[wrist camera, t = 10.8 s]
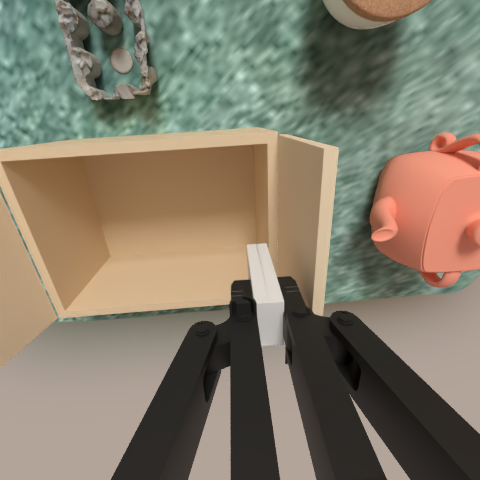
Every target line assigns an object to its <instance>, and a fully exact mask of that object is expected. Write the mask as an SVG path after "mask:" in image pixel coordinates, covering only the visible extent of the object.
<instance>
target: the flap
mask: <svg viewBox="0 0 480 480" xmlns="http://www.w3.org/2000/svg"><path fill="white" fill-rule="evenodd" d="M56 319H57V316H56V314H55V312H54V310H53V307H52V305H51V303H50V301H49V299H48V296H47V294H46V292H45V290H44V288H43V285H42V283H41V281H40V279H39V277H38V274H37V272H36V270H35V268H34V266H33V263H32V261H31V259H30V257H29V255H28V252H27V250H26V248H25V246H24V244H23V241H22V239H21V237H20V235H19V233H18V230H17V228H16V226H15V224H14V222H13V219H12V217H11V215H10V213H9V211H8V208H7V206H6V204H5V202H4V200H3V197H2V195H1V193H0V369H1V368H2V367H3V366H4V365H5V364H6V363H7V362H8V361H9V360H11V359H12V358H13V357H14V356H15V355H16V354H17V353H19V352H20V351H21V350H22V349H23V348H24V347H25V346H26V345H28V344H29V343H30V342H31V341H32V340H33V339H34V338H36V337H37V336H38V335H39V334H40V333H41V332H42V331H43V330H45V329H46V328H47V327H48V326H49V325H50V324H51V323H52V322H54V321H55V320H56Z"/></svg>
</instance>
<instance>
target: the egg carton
mask: <svg viewBox="0 0 480 480" xmlns="http://www.w3.org/2000/svg"><path fill="white" fill-rule="evenodd" d="M55 4H56V10H57V12H58V14H59V25H60V28H61V30H62V33H63V36H64V39H65V43H66V47H67V50H68V52H69V55H70V59H71V64H72V68H73V72H74V76H75V79H76V81H77V83H78V84H79V86H80V87H81V88H82V89H83V90H84V91H85V93H86V94H87V95H88V96H89V97H90V98H91V99H92V100H100V99H102V98H103V99H111V100H115V99H121V98H122V99H134V98H135V97H134V95H137V94H139V95H150V94H151V90H152V89H151V87H152V85H153V83H154V82H156V81H157V74H156V71H155V68H152V67H150V66H147V57H146V53H148V49H147V44H148V43H149V39H148V37H147V34H146V30H145V26H144V17H143V13H142V9H141V5H140V0H126V2H125V7H124V12H125V14H126V15H127V16H128V17H129V18H130V20H131V21H132V22H133V23H134V24H135V25H136V26H137V27H139V28H140V29H141V31H140V32H139V33H138V34H137V35H136V37H135V40H136V43H135V45H134V50H135V54H134V56H135V58H136V59H137V60H138V62H140V69H141V75H142V87H141V88H140V89H137V88H136V87H134V86H132V85H129V84H126V83H121V84H119V85H117V86H116V87H115V89H114V94H113V97H112V98H111V97H110V95H109V94H108V93H107V92H105V91H103V90H100V89H97V87H96V84H95V79H96V78H98V77H99V76H100V74H101V70H102V67H101V63H100V61H99V60H98V58H97V57H96V56H95V55H93V54H91V53H89V52H87V51H85V49H84V45H83V42H82V40H84V39H86V38H87V36H88V35H89V32H90V27H89V23H88V21H87V19H86V17H85V16H84V15H83V14H81V13H80V12H79V11H77V10H76V9H75V8H74V7H73V6H72V5H71V4H70V1H69V0H55ZM87 14H88V16H89V18H90V19H91V20H92V21H93V23H94V24H95V25H96V26H97V27H99V28H100V29H102V30H103V31H104V32H106V33H107V34H109V35H117V34H119V33H120V32H121V30H122V25H123V21H122V17H121V15H120V13H119V12H118V11H117V10H116V9H115V8H114V7H113V6H112V4H111V3H109V2H108V1H107V0H91V2H90V3H89V4H88V11H87ZM111 64H112V66H113V68H114V69H115V70H116V71H118V72H119V73H121V74H126V73H128V72H129V71H130V70H131V69H132V66H133V60H132V58H131V56H130V54H129V53H128V52H127V51H126V50H125V49H122V48H117V49H115V50H114V51H113V52H112V54H111Z"/></svg>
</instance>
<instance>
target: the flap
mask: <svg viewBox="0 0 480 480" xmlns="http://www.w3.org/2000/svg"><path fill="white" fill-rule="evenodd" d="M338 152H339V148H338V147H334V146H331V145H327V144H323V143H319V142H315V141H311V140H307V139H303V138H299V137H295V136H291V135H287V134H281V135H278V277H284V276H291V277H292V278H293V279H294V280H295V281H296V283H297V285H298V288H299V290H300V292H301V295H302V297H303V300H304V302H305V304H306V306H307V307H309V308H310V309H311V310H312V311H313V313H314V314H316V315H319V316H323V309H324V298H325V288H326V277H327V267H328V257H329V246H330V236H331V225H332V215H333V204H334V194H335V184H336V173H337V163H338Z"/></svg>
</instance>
